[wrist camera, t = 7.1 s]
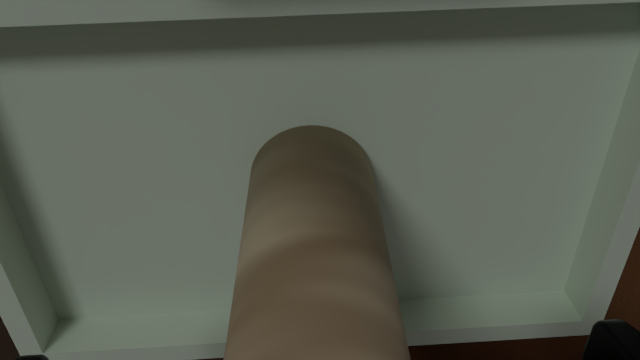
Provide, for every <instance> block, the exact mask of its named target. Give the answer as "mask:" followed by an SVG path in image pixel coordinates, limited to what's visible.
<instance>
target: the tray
mask: <svg viewBox="0 0 640 360" xmlns="http://www.w3.org/2000/svg"><path fill="white" fill-rule="evenodd" d="M307 125H318V126H325V127H330V128H333V129H336V130H339V131H341V132H343V133H345V134H347V135H349V136H350V137H351V138H353V139H354V140H355V141H356V142H357V143H358V144H359V145H360V146H361V147H362V148H363V150H364V151H365V152H366V154H367V156H368V158H369V161H370V163H371V168H372V173H373V178H374V183H375V187H376V192H377V197H378V202H379V207H380V212H381V217H382V222H383V227H384V232H385V236H386V241H387V246H388V251H389V256H390V261H391V266H392V271H393V276H394V280H395V285H396V290H397V295H398V300H399V305H400V310H401V315H402V320H403V325H404V329H405V334H406V339H407V344H408V346H417V345H433V344H449V343H465V342H482V341H498V340H514V339H530V338H546V337H562V336H578V335H590V332H591V330H592V327H593V325H594V323H596V322H597V321H599V320H604V317H605V315H606V312H607V310H608V307H609V304H610V302H611V299H612V297H613V294H614V291H615V289H616V286H617V284H618V281H619V279H620V276H621V273H622V271H623V268H624V266H625V263H626V260H627V258H628V255H629V253H630V250H631V248H632V245H633V242H634V240H635V237H636V235H637V232H638V230H639V227H640V0H0V316H1V318H2V320H3V322H4V324H5V326H6V328H7V330H8V332H9V334H10V336H11V338H12V340H13V342H14V344H15V346H16V348H17V350H18V352H19V354H20V356H23V355H38V354H42V355H45V356H46V357H48V359H49V360H192V359H208V358H224V354H225V347H226V340H227V333H228V327H229V320H230V313H231V306H232V299H233V292H234V285H235V278H236V271H237V264H238V257H239V250H240V243H241V236H242V229H243V222H244V216H245V209H246V202H247V195H248V188H249V181H250V174H251V167H252V164H253V161H254V159H255V157H256V155H257V153H258V152H259V150H260V149H261V147H262V146H263V145H264V144H265V143H266V142H267V141H269V140H270V139H271V138H272V137H274V136H275V135H277V134H279V133H281V132H283V131H285V130H288V129H291V128H294V127H299V126H307Z"/></svg>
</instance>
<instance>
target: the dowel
mask: <svg viewBox="0 0 640 360" xmlns="http://www.w3.org/2000/svg"><path fill="white" fill-rule="evenodd" d="M224 360H411V359H410V354H409V349H408V344H407V339H406V334H405V329H404V325H403V320H402V315H401V310H400V305H399V300H398V295H397V290H396V285H395V280H394V276H393V271H392V266H391V261H390V256H389V251H388V246H387V241H386V236H385V232H384V227H383V222H382V217H381V212H380V207H379V202H378V197H377V192H376V187H375V183H374V178H373V173H372V168H371V163H370V161H369V158H368V156H367V154H366V152H365V151H364V150H363V148H362V147H361V146H360V145H359V144H358V143H357V142H356V141H355V140H354V139H353V138H351V137H350V136H349V135H347V134H345V133H343V132H341V131H339V130H336V129H333V128H330V127H325V126H318V125H307V126H299V127H294V128H291V129H288V130H285V131H283V132H281V133H279V134H277V135H275V136H274V137H272V138H271V139H270V140H269V141H267V142H266V143H265V144H264V145H263V146H262V147H261V149H260V150H259V152H258V153H257V155H256V157H255V159H254V161H253V164H252V167H251V174H250V181H249V188H248V195H247V202H246V209H245V216H244V222H243V229H242V236H241V243H240V250H239V257H238V264H237V271H236V278H235V285H234V292H233V299H232V306H231V313H230V320H229V327H228V333H227V340H226V347H225V354H224Z"/></svg>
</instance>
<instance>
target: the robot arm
mask: <svg viewBox="0 0 640 360" xmlns="http://www.w3.org/2000/svg"><path fill="white" fill-rule="evenodd" d="M14 360H49V359H48V357H46V356H45V355H42V354H38V355H23V356H19V357H17V358H16V359H14ZM583 360H640V332H639V331H638V330H637V329H635V328H634V327H632V326H631V325H630V324H628V323H627V322H625V321H623V320H619V319H613V320H599V321H597V322H596V323H594V325H593V327H592V330H591V332H590V335H589V338H588V340H587V343H586V346H585V348H584V351H583Z"/></svg>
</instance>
